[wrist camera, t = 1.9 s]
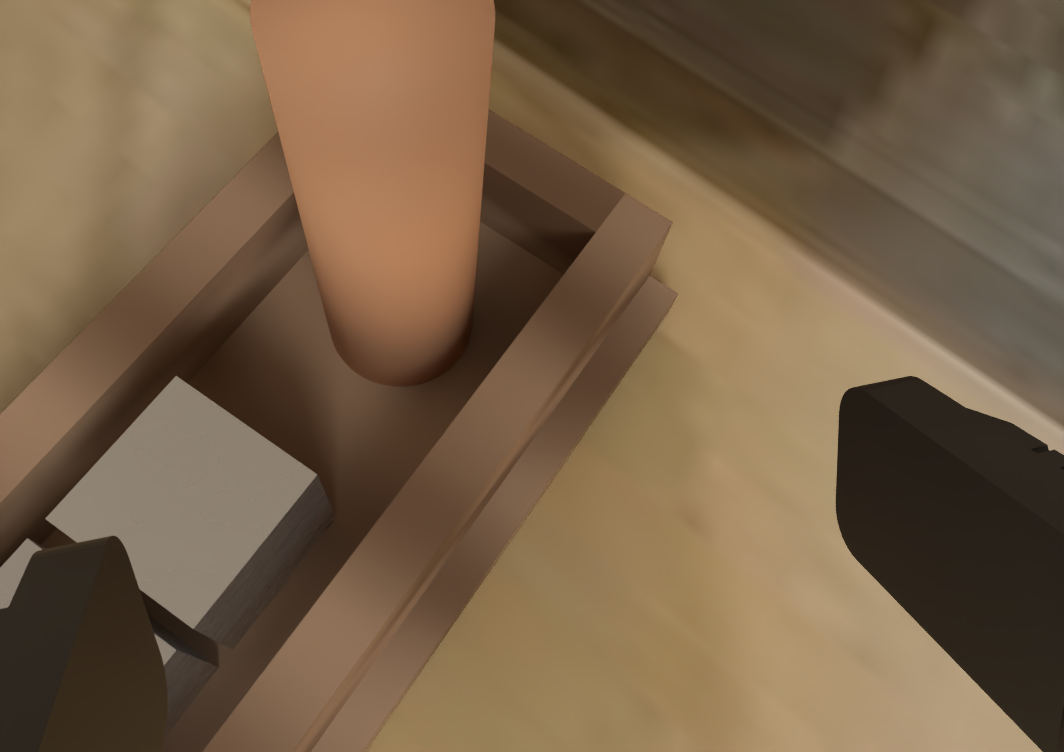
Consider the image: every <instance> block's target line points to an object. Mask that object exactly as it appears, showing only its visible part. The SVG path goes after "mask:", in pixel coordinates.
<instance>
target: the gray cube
mask: <svg viewBox="0 0 1064 752" xmlns="http://www.w3.org/2000/svg"><path fill="white" fill-rule="evenodd" d="M44 549H47V548H45V547H43V546H41V545H39V544H37V543H35V542H34V541H32V540H30V539H28V538H27V539H26V540H25V541H24V542H23V543H22V545H21V546H20V547H19V548H18V549H17V550H16V551H15V552H14V553H13V554H12V555H11V557H10V558H9V559H8V560H7V561H6V562H5V563H4V564H3V565H2V566H1V567H0V609H2V608H7V607H9V605H10V602H11V600H12V598H13V596H14V594H15V591H16V589H17V587H18V585H19V583H20V580H21V578H22V576H23V574H24V571H25V569H26V567H27V565H28V563H29V560H30V558H31V557H32V555H33V554H34V553H35V552H36V551H39V550H44ZM148 617H149V620H150V623H151V626H152V629H153V632H154V635H155V638H156V641H157V644H158V647H159V650H160V653H161V656H162V660H163V664H164V669H165V675H166V682H167V693H168V713H167V721H166V727H165V733H164V738H165V736H166V735H167V734H168V733H169V731H170V730H171V729H172V727H173V726H174V725H175V724H176V722H177V721H178V720H179V718H180V717H181V716H182V715H183V713H184V712H185V711H186V709H187V708H188V707H189V706H190V704H191V703H192V702H193V700H194V699H195V698H196V697H197V695H198V694H199V693H200V691H201V690H202V689H203V688H204V686H205V685H206V684H207V682H208V681H209V680H210V679H211V677H212V676H213V675H214V673H215V672H216V671H217V670H218V668H219V667H218V666H216V665H215V664H214V663H212V662H211V661H210V660H208V659H207V658H206V657H204V656H203V655H202V654H200V653H199V652H198V651H196V650H195V649H194V648H192V647H191V646H189V645H188V644H187V643H185V642H184V641H183V640H181V639H180V638H179V637H177V636H176V635H175V634H173V633H172V632H171V631H169V630H168V629H167V628H165V627H164V626H163V625H161V624H160V623H159V622H157V621H156V620H155V619H153V618H152V617H151V616H149V615H148Z"/></svg>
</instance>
